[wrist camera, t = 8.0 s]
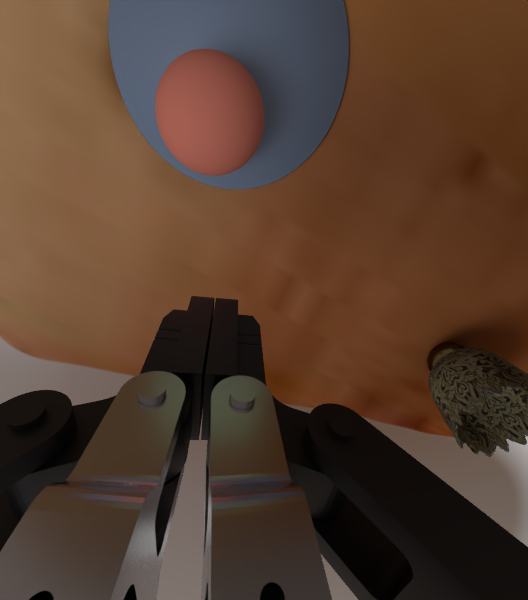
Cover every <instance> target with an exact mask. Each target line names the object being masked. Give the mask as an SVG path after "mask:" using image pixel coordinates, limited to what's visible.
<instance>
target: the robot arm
mask: <svg viewBox="0 0 528 600" xmlns="http://www.w3.org/2000/svg"><path fill="white" fill-rule="evenodd" d="M213 314H214V316H213ZM202 411H203V419H202ZM201 419H202V436H201V440H208V444H207V459H206V472H205V507H204V510H205V511H204V546H203V575H202V596H201V600H332V597H331V594H330V589H329V585H328V582H327V577H326V573H325V570H324V566H323V562H322V558H321V554H322V555H323V557H324V558H325V559H326V560H327V561H328V563H329V564H330V565H331V566H332V568H333V569H334V570H335V571H336V573H337V574H338V575H339V576H340V577H341V579H342V580H343V581H344V582H345V584H346V585H347V586H348V587H349V588H350V590H351V591H352V592H353V593H354V594H355V596H356V597H357V598H358V600H528V547H527V546H526V545H524V544H523V543H522V542H520V541H519V540H518V539H516V538H515V537H514V536H513V535H511V534H510V533H509V532H508V531H506V530H505V529H504V528H503V527H501V526H500V525H499V524H497V523H496V522H495V521H494V520H492V519H491V518H490V517H489V516H487V515H486V514H485V513H483V512H482V511H481V510H480V509H478V508H477V507H476V506H474V505H473V504H472V503H471V502H469V501H468V500H467V499H466V498H464V497H463V496H462V495H461V494H459V493H458V492H457V491H455V490H454V489H453V488H452V487H450V486H449V485H448V484H446V483H445V482H444V481H443V480H441V479H440V478H439V477H438V476H436V475H435V474H434V473H432V472H431V471H430V470H429V469H427V468H426V467H425V466H424V465H422V464H421V463H420V462H418V461H417V460H416V459H415V458H413V457H412V456H411V455H410V454H408V453H407V452H406V451H405V450H403V449H402V448H401V447H399V446H398V445H397V444H396V443H394V442H393V441H392V440H390V439H389V438H388V437H387V436H385V435H384V434H383V433H381V432H380V431H379V430H378V429H376V428H375V427H374V426H373V425H371V424H370V423H369V422H368V421H366V420H365V419H364V418H362V417H361V416H360V415H359V414H357V413H356V412H354V411H353V410H351V409H349V408H347V407H345V406H342V405H339V404H322V405H319V406H317V407H316V408H314V409H313V410H312V412H311V413H310V414H309V413H306V412H303V411H300V410H297V409H293V408H291V407H288V406H286V405H284V404H282V403H281V402H279V401H278V400H277V399H275V398H274V397H273V396H272V394H271V392H270V390H269V389H268V387H267V386H266V381H265V372H264V362H263V353H262V343H261V333H260V325H259V324H258V322H257V321H256V320H255V318H254V317H253V316H248V315H238V300H233V299H221V298H216V302H215V309H214V298H209V297H198V296H192V297H191V300H190V304H189V307H188V310H187V311H185V310H173V311H171V312H170V313H169V314H168V315H166V316H165V317H164V318H163V320H162V322H161V325H160V327H159V331H158V332H157V334H156V336H155V340H154V341H153V344H152V346H151V348H150V351H149V353H148V356H147V358H146V360H145V363H144V365H143V368H142V370H141V372H140V374H139V375H137V376H135V377H133V378H132V379H130V380H129V381H127V382H126V383H125V384H124V385H123V386H122V387H121V389H120V391H119V392H118V394H117V395H116V396H114V397H111V398H108V399H104V400H100V401H96V402H90V403H86V404H81V405H76V406H72V403H71V401H70V399H69V398H68V396H66V395H65V394H63V393H61V392H58V391H53V390H39V391H33V392H29V393H25V394H22V395H19V396H17V397H14V398H12V399H10V400H8V401H6V402H4V403H2V404H0V600H156V596H157V590H158V584H159V576H160V569H161V564H162V559H163V555H164V550H165V546H166V542H167V538H168V534H169V530H170V526H171V522H172V518H173V514H174V510H175V505H176V501H177V497H178V493H179V489H180V485H181V480H182V477H183V473H184V464H185V462H186V459H187V454H188V448H189V441H190V440H199V433H200V426H201ZM320 553H321V554H320Z"/></svg>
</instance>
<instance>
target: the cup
mask: <svg viewBox="0 0 528 600" xmlns="http://www.w3.org/2000/svg"><path fill="white" fill-rule="evenodd" d="M427 364H428V368H429V370H430V376H429V388H430V392H431V395H432V397H433V400H434V402H435V404H436V406H437V408H438V409H439V411H440V413H441V415H442V416H443V418H444V420H445V422H446V423H447V425H448V427H449V429H450V430H451V432H452V434H453V435H454V437H455V439H456V441H457V443H458V445H459V446H460V447H461V448H463V444H464V443H465V444H467V445H468V446H469V447H470V449H471V450H472V451H473V452H474V453H475V454H478V452H479V451H481V452H482V453H484V454H485V455H486V456H489V457H491V456H492V455H493V454H494V453H493V452H495V449H496V446H497V445H498V446H499V447H500V448H501V449H503V450H505V451H506V452H509V447H508V446H509V444H508V443H507V441H506V438H507V439H509V440H511V441H515V442H517V443H520V444H523V445H525V444H526V443H527V441H526V438H525V437H526V436H528V374H526V373H525V372H523V371H522V370H520V369H519V368H517V367H516V366H514V365H513V364H511V363H509V362H508V361H506V360H504V359H503V358H501V357H499V356H497V355H495V354H493V353H491V352H488V351H485V350H482V349H476V348H464V347H463V346H461V345H458V344H455V343H445V344H442V345H440V346H438V347H436V348H435V349H434V350H432V352H431V353H430V354H429V356H428V359H427ZM525 435H526V436H525ZM505 437H506V438H505ZM459 441H460V443H459ZM462 443H463V444H462ZM494 446H495V447H494Z"/></svg>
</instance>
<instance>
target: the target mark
mask: <svg viewBox="0 0 528 600" xmlns="http://www.w3.org/2000/svg"><path fill="white" fill-rule="evenodd" d="M108 22H109V44H110V52H111V59H112V64H113V69H114V73H115V77H116V81H117V84H118V87H119V90H120V92H121V95H122V98H123V100H124V103H125V105H126V107H127V109H128V111H129V113H130V115H131V117H132V119H133V121H134V122H135V124H136V125H137V127H138V129H139V130H140V132H141V133H142V135H143V136H144V137H145V139H146V140H147V141H148V143H149V144H150V145H151V146H152V147H153V148H154V149H155V150H156V152H157V153H158V154H159V155H160V156H161V157H162V158H163V159H165V160H166V161H167V162H168V163H169V164H171V165H172V166H173V167H174V168H176V169H177V170H179V171H180V172H182V173H183V174H185V175H187V176H189V177H191V178H193V179H195V180H197V181H199V182H202V183H204V184H207V185H210V186H214V187H219V188H224V189H250V188H255V187H260V186H264V185H267V184H269V183H272V182H275V181H277V180H279V179H281V178H283V177H285V176H286V175H288V174H289V173H291V172H292V171H294V170H295V169H296V168H298V167H299V166H300V165H301V164H302V163H303V162H304V161H306V160H307V159H308V158H309V157H310V155H311V154H312V153H313V152H314V151H315V150H316V148H317V147H318V146H319V144H320V143H321V141H322V140H323V138H324V137H325V135H326V134H327V132H328V130H329V128H330V126H331V124H332V122H333V121H334V118H335V116H336V113H337V111H338V108H339V106H340V102H341V99H342V95H343V92H344V88H345V83H346V77H347V71H348V59H349V32H348V23H347V16H346V9H345V5H344V1H343V0H110V7H109V19H108ZM202 48H203V49H214V50H218V51H221V52H224V53H226V54H228V55H230V56H231V57H233V58H234V59H236V60H237V61H238V62H240V63H241V64H242V65H243V66H244V67H245V68H246V69H247V71H248V72H249V73H250V75H251V76H252V77H253V79H254V81H255V83H256V84H257V87H258V89H259V91H260V94H261V98H262V102H263V107H264V129H263V134H262V138H261V141H260V144H259V146H258V148H257V150H256V152H255V153H254V155H253V156H252V158H251V159H250V160H249V161H248V162H247V163H246V164H245V165H244V166H242V167H241V168H239V169H238V170H236V171H234V172H232V173H229V174H225V175H220V176H211V175H204V174H200V173H197V172H195V171H193V170H191V169H189V168H187V167H186V166H184V165H183V164H182V163H181V162H179V161H178V160H177V159H176V158H175V157H174V155H173V154H172V153H171V152H170V151H169V149H168V148H167V146H166V145H165V143H164V141H163V139H162V137H161V134H160V132H159V129H158V125H157V121H156V115H155V97H156V91H157V87H158V84H159V81H160V79H161V77H162V75H163V73H164V71H165V70H166V69H167V67H168V66H169V65H170V64H171V63H172V62H173V61H174V60H175V59H176V58H177V57H179V56H180V55H182V54H184V53H186V52H188V51H192V50H195V49H202Z"/></svg>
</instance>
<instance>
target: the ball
mask: <svg viewBox="0 0 528 600" xmlns="http://www.w3.org/2000/svg"><path fill="white" fill-rule="evenodd" d="M155 115H156V121H157V125H158V129H159V132H160V134H161V137H162V139H163V141H164V143H165V145H166V146H167V148H168V149H169V151H170V152H171V153H172V154H173V155H174V157H175V158H176V159H177V160H178V161H179V162H181V163H182V164H183V165H184V166H186V167H187V168H189V169H191V170H193V171H195V172H197V173H200V174H204V175H211V176H220V175H225V174H229V173H232V172H234V171H236V170H238V169H239V168H241V167H242V166H244V165H245V164H246V163H247V162H248V161H249V160H250V159H251V158H252V156H253V155H254V153H255V152H256V150H257V148H258V146H259V144H260V141H261V138H262V134H263V129H264V107H263V102H262V98H261V94H260V91H259V89H258V87H257V84H256V83H255V81H254V79H253V77H252V76H251V75H250V73H249V72H248V71H247V69H246V68H245V67H244V66H243V65H242V64H241V63H240V62H238V61H237V60H236V59H234V58H233V57H231V56H230V55H228V54H226V53H224V52H221V51H218V50H214V49H203V48H202V49H195V50H192V51H188V52H186V53H184V54H182V55H180V56H179V57H177V58H176V59H175V60H174V61H173V62H172V63H171V64H170V65H169V66H168V67H167V69H166V70H165V71H164V73H163V75H162V77H161V79H160V81H159V84H158V87H157V91H156V97H155Z"/></svg>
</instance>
